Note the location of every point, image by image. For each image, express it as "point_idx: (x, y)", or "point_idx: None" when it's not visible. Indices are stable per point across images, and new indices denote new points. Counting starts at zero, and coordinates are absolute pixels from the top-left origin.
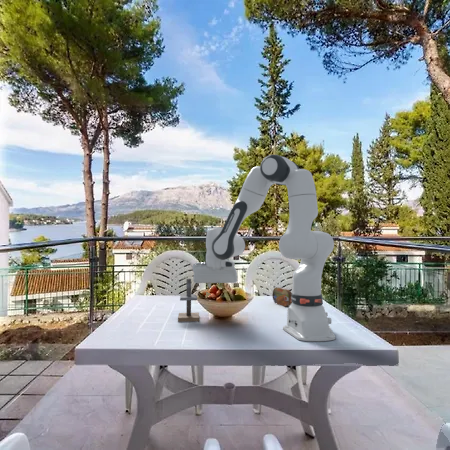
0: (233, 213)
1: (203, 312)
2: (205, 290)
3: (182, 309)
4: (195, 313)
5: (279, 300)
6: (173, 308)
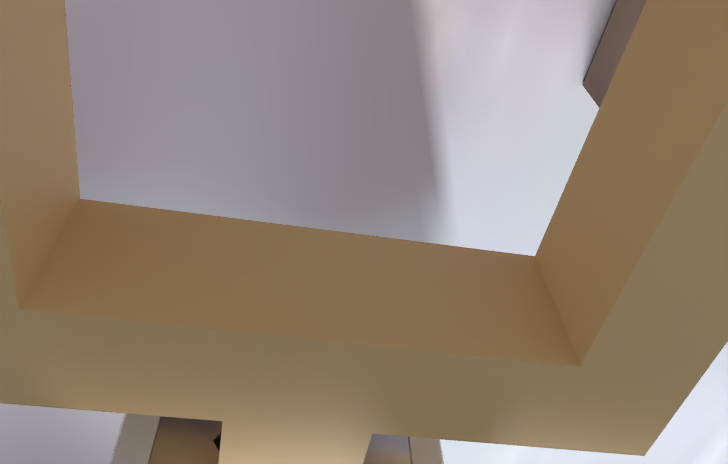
0: None
1: None
2: (665, 412)
3: None
4: None
5: None
6: (716, 441)
